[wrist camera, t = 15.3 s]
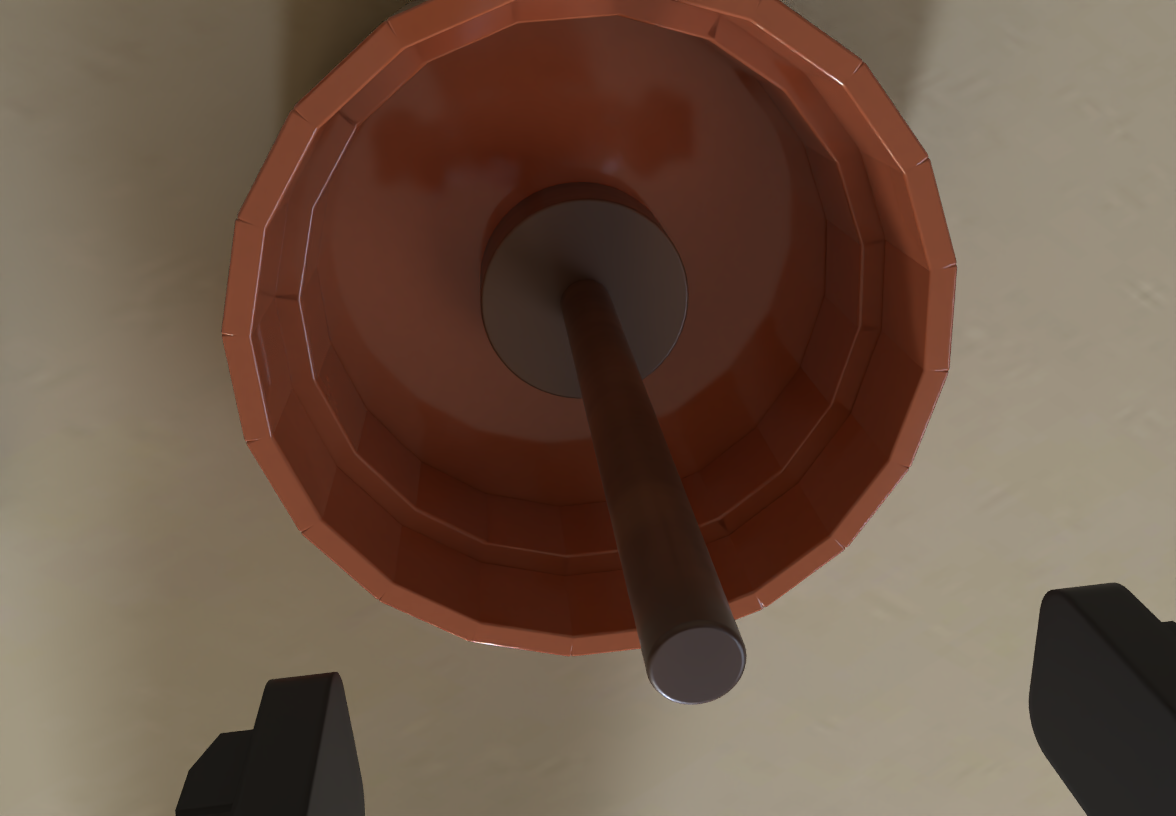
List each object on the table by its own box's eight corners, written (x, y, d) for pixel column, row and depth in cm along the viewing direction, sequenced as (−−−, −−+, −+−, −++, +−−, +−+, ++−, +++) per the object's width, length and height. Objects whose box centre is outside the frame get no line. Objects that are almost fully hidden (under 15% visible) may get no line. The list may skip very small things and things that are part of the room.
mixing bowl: (330, 555, 30) (298, 689, 25) (220, -18, 24) (145, -8, 19) (851, 499, 31) (931, 616, 26) (872, -67, 25) (984, -71, 20)
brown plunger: (490, 379, 28) (505, 851, 13) (469, 190, 26) (460, 501, 11) (678, 361, 28) (895, 802, 14) (671, 172, 26) (918, 453, 12)
